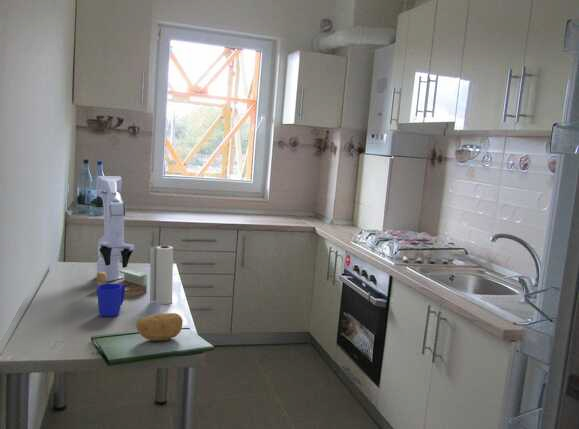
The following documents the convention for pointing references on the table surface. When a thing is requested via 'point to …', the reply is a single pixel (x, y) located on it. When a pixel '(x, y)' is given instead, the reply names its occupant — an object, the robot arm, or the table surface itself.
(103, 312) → the mug
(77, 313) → the table surface
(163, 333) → the potato
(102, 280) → the peg
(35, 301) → the table surface
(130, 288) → the socket block
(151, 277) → the paper towel roll
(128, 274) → the pale green grooved slab
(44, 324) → the table surface
